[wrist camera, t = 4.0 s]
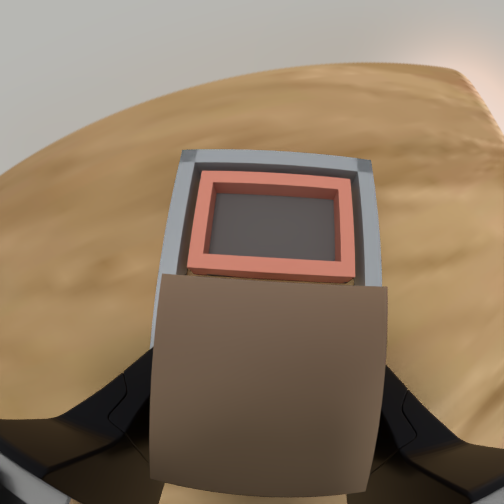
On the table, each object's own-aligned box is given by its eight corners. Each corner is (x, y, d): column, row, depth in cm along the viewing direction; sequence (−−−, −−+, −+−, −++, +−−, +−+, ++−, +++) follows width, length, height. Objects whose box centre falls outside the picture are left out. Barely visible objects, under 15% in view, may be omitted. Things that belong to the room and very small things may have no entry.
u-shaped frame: (356, 450, 13) (366, 462, 11) (158, 437, 14) (146, 448, 12) (362, 176, 18) (370, 160, 17) (189, 166, 19) (182, 149, 17)
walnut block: (302, 398, 14) (365, 491, 4) (222, 393, 15) (150, 478, 4) (307, 321, 16) (387, 286, 5) (228, 316, 16) (161, 273, 6)
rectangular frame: (346, 283, 16) (355, 277, 15) (194, 274, 17) (186, 266, 15) (343, 192, 18) (350, 179, 16) (207, 185, 19) (201, 170, 17)
